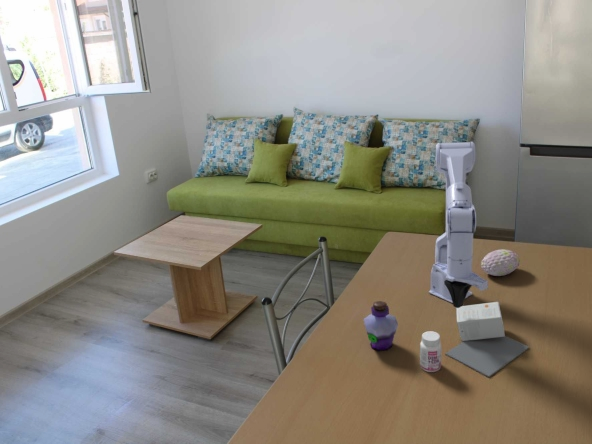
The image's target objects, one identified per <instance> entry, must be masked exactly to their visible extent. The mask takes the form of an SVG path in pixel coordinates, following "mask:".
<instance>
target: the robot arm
mask: <svg viewBox="0 0 592 444" xmlns="http://www.w3.org/2000/svg"><path fill="white" fill-rule="evenodd" d="M475 163H476V144H475V143H474V141H469V142H437V144H436V145H435V166H436V167H435V169H436V172H437V173H439V174H442V175H443V176H444V179H445V232H444V233H443V234H441V235H440V236H438V237H437V238H436V240H435V247H434V249H435V250H434V260H435V261H434V262H435V263H434V264H432V266H431V267H432V268H431V271H430V290H428V293H429V294H431V295H433V296H435V297H438V298H440V299H442V300H444V301H447V302H449V303H452V306H453V307H455V308H459V307H461V306H464V302H465V299H467V298H469V297H470V296H472V295H473V292H472V291H470V290H471V288H472V286H473V287H475V288H478V291H480V292H481V291H482V292H483V291H486V290H487V289H488V286H489V285H488V284H489V281H488V280H486V279H484V278H482V277H481V276H480V275H479V274H477V273H475V272H474V271H473V260H474V259H473V254H474V253H473V249H474V248H473V245H474V233H475V232H476V228H477V212H476V208H475V205H474V204H473V199H472V198H473V196H472V189H471V187H470V186H469V185H468V184H467V183H466V181H467V180H466V178H467V173H470V172H472V170H473V168H474V165H475Z"/></svg>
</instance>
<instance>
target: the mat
mask: <svg viewBox="0 0 592 444" xmlns="http://www.w3.org/2000/svg"><path fill="white" fill-rule="evenodd" d="M529 349H530V347H529V345H526V344H524V343H522V342H519V341H518V340H515V339H514V338H510V337H509V336H506V335H505V337H496V338H487V339H478V340H468V341H461V343H459V344H458V345H456V346H454V347H452V348H451V349H450V350H448V351H446V352H445V353H444V354H445V356H447V357H449V358H451V359H452V360H454V361H456V362H458V363H460V364H462V365H464V366H466V367H468V368H469V369H472V370H474V371H476V372H477V373H480V374H481V375H483V376H486V377H487V378H491V377H492V376H493V375H495V374H496V373H498V371H500V370H501V369H503V368H504V367H505V366H507V365H508V364H509V363H511V362H512V361H513V360H515V359H516V358H517V357H519V356H520V355H521V354H524V352H526V351H528V350H529Z"/></svg>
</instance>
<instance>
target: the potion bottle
mask: <svg viewBox="0 0 592 444" xmlns="http://www.w3.org/2000/svg"><path fill="white" fill-rule="evenodd" d="M370 311H371V313H370V314H369V315H367V316H366V317H364V318H363V323H364V327H365V331H366V334H367V338H368V340H369V341H370V347H371V349H372V350H375V351H377V352H386V351H387V352H388V351H389V350H390V349H391V348H392V347H393V342H394V337H395V335H396V333H397V329H398V326H399V323H398V321H397V317H396V315H392V314H390V309H389V306H388V305H387V302H385V301H383V300H377V301H374V302H373V303H372V306H371V307H370Z"/></svg>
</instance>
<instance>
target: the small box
mask: <svg viewBox="0 0 592 444" xmlns="http://www.w3.org/2000/svg"><path fill="white" fill-rule="evenodd" d="M455 308H456V307H455ZM502 317H503V316H502V312H501V308H500V302H499V301H493V302H485V303H478V304H468V305H463V306H461V307H459V308H456V324H457V329H458V332H459V337H460V341H461V342H463V341H468V340H478V339H487V338H496V337H505V336H506V335H505V328H504V322H503V318H502Z"/></svg>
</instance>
